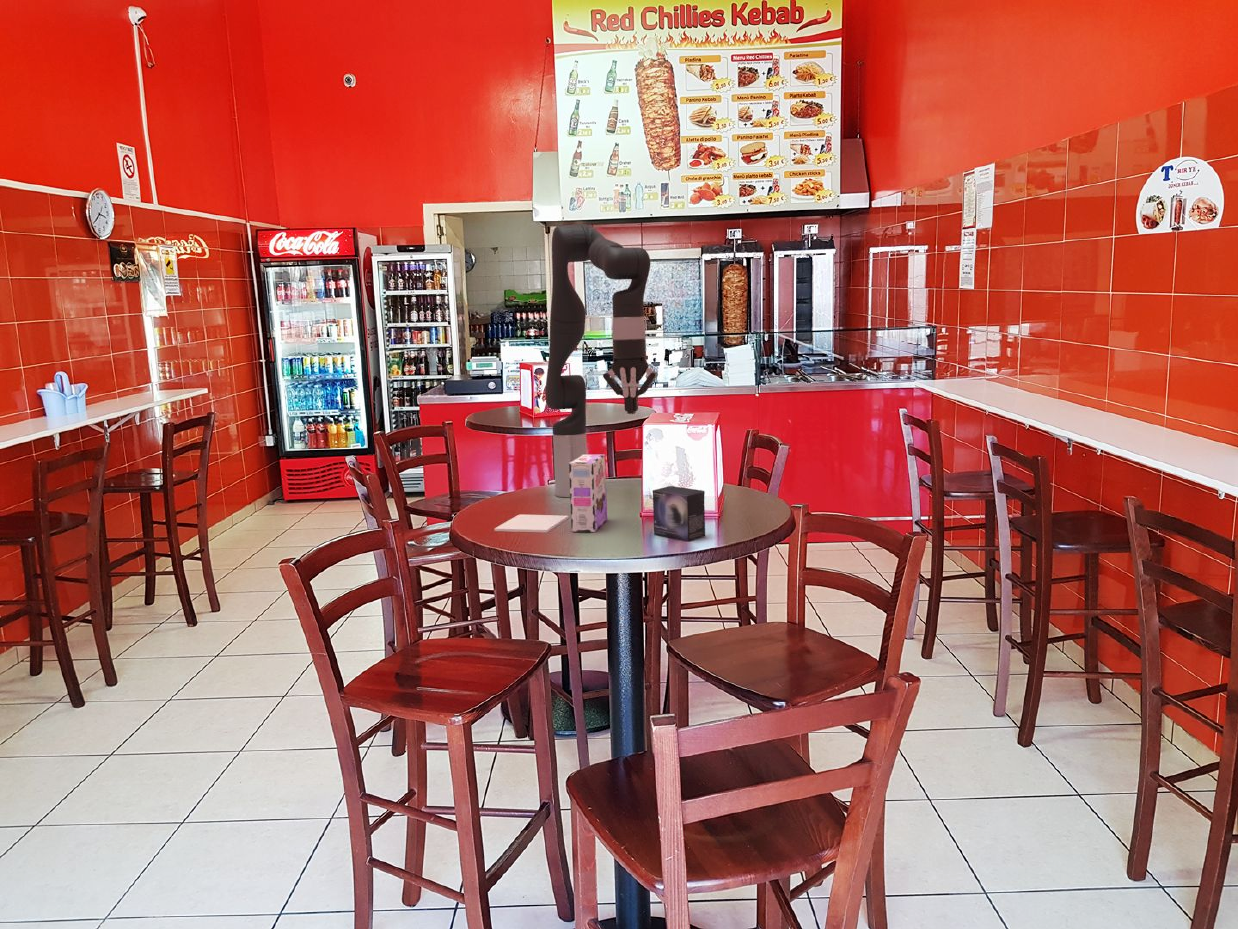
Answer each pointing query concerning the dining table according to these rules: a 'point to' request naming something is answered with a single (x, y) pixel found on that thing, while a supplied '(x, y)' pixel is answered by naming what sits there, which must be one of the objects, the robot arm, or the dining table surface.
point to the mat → (532, 523)
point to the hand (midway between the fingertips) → (631, 413)
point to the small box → (679, 513)
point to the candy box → (588, 493)
